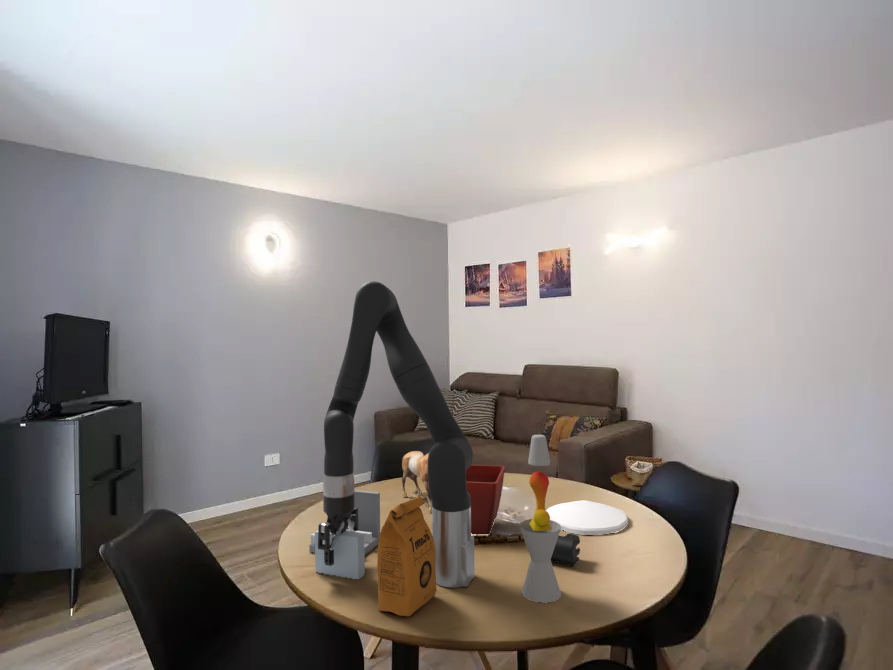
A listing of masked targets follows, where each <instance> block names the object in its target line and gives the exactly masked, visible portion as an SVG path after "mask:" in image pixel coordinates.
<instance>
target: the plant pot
mask: <svg viewBox="0 0 893 670" xmlns="http://www.w3.org/2000/svg"><path fill="white" fill-rule="evenodd" d="M505 469H506V468H505V466H503V465H487V464H471V466H470V467H469V468H468V469H467V470H466V488H467V492H469V494H470V496H471V533H472V534H489V533H490V531H491V532H492V530H491V528H492V525H493V522H494V519H495V518H496V519H497V516H498V512H499V508H500V502H501V498H502V492H503V487H504V486H503V485H504V478H505ZM493 526H494V525H493ZM492 529H493V528H492ZM490 534H491V533H490Z"/></svg>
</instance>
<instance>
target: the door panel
mask: <svg viewBox="0 0 893 670" xmlns="http://www.w3.org/2000/svg"><path fill="white" fill-rule="evenodd" d="M314 534H315V553H314V554H315V555H314V557H315V559H314V560H315V563H314V564H315V573H316V572H318V573H317V574H321V573H324V574H323V575H327V574H329V575H328V576H333V575H336V576H335V577H339V576H340V577H339V578H345V577H347V578H346V579H350V578H352V579H351V580H356V579H359V580H360V579H361V578H362V577H364V576H365V575H364V574H366V573H365V572H366V568H365V566H366V565H365V564H366V563H365V561H366V560H365V557H366V555H364V533H358V532H351V531H344V532H343V533H341V534H340V536H339V539H338V541H336V543H335V546H334V564H333V565H332V566H328V565H325V563H324V550H320V549H318V530H316V531H315V532H314ZM330 535H331V536H335V535H333V534H331V532H330ZM331 541H332V540H330V544H331ZM323 543H324V540H323ZM363 575H364V576H363Z"/></svg>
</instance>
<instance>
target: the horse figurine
mask: <svg viewBox="0 0 893 670" xmlns="http://www.w3.org/2000/svg"><path fill="white" fill-rule="evenodd" d="M428 455H429V452H427V453H426V454H425V455H424V453H423V452H422V451H419V450H414V451H413V450H412V451H409V452H408V453H406V454H404V455H403V457H402V462H401V467H402V471H403V475H402V477H401V482H402V489H401V492H402V494H401V495H402V497H403V498H407V497H408V494H407V492H406V488H405V486H406V484H405V483H406V479H407V478H409V479H410V480H411V481H413V483H414V484H415V488H416V491H417V495H416V498H417V497H422V493H421V488H420V487H419V484H418V477H419V478H420V479H421V481H422V484H423V486H424V490H425V491H426V495H427V496H426V500H427V501H428V507H429V506H430V507H429V508H428V512H429V513H430V514H432V500H431V497H430V494H429V485H428Z"/></svg>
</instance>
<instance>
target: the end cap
mask: <svg viewBox="0 0 893 670" xmlns="http://www.w3.org/2000/svg"><path fill="white" fill-rule="evenodd" d="M580 539H581V538H580V535H576V534H571V533H567V534H565V536H563V535H559V536H558V539H557V542H556V545H555V548H554V551H553V554H552V557H551V562H555V563H559V564H564V565H568V566H572V567H575V566H576V565H575V564H578V563H579V561H580V557H579V555H580V553H581V549H580V547H577V546H578V545H579V544H580V543H581V540H580ZM574 565H575V566H574Z"/></svg>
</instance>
